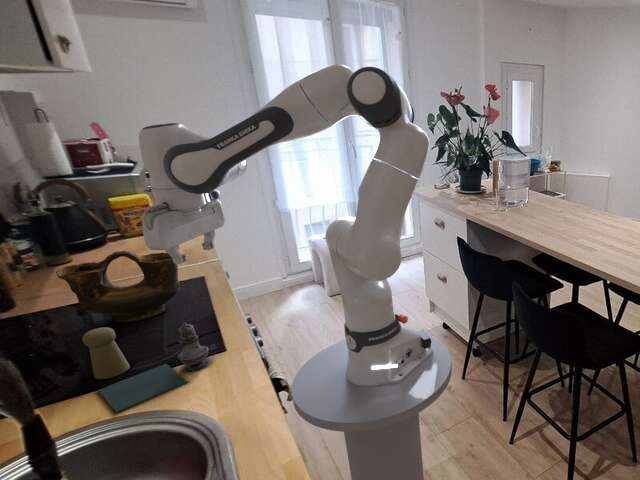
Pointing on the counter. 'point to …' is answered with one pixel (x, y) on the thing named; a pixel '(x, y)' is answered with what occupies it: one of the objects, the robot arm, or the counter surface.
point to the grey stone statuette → (192, 350)
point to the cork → (105, 353)
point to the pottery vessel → (126, 300)
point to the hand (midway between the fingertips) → (195, 255)
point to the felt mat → (141, 387)
